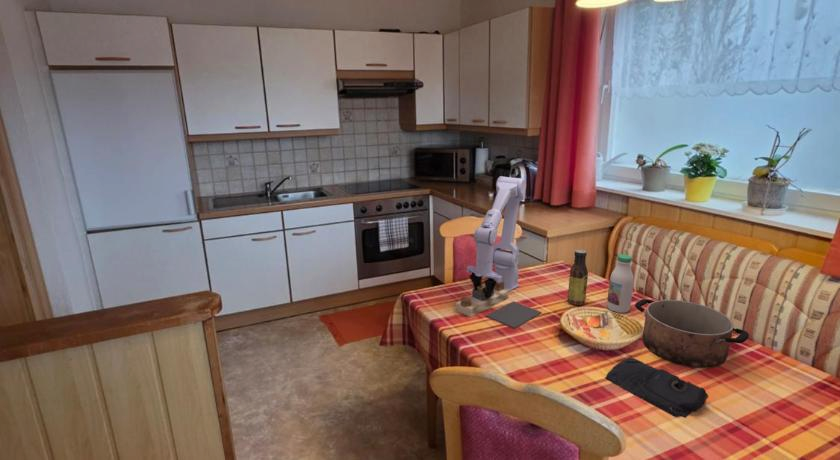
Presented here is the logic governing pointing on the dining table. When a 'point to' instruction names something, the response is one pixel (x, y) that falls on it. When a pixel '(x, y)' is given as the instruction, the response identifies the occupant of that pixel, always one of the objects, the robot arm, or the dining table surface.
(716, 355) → the cooking pot
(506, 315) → the rubber mat
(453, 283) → the dining table surface
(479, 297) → the lever cap
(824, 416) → the dining table surface
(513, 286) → the robot arm
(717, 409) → the dining table surface
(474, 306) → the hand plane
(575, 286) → the sauce bottle
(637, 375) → the black flat holed part
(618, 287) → the milk bottle
